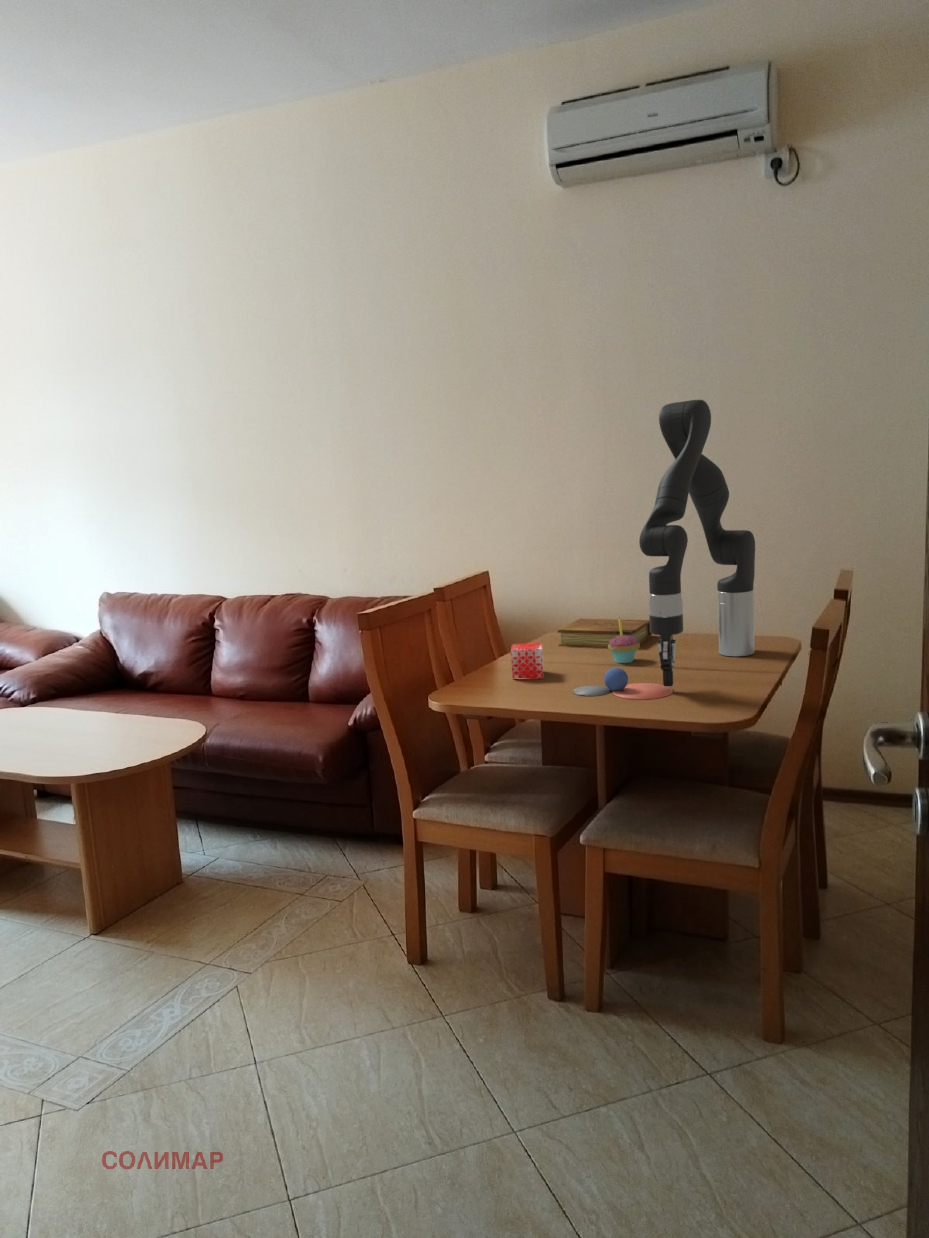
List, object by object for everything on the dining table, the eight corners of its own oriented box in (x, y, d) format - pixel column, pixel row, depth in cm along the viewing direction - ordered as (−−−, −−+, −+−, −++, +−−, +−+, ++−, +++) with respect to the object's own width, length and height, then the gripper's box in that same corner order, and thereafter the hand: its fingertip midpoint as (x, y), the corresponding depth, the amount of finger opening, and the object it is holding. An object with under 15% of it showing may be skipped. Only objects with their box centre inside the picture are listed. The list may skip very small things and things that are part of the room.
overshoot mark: (576, 686, 214) (576, 685, 214) (613, 686, 212) (613, 685, 212) (569, 695, 206) (569, 695, 206) (607, 696, 203) (607, 695, 203)
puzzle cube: (514, 673, 233) (512, 644, 232) (543, 671, 232) (542, 642, 231) (512, 680, 225) (510, 650, 224) (543, 679, 224) (541, 649, 223)
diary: (652, 638, 267) (651, 619, 266) (632, 651, 251) (631, 631, 250) (581, 635, 278) (581, 617, 277) (558, 647, 263) (557, 628, 262)
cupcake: (603, 660, 239) (601, 617, 237) (630, 656, 242) (629, 613, 240) (618, 666, 231) (616, 622, 229) (646, 662, 234) (644, 618, 232)
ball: (605, 670, 211) (624, 661, 208) (616, 690, 211) (635, 682, 208) (596, 676, 207) (615, 667, 203) (607, 697, 206) (626, 688, 203)
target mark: (616, 683, 214) (616, 682, 214) (675, 684, 210) (675, 683, 210) (608, 699, 201) (608, 698, 201) (670, 699, 197) (670, 699, 196)
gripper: (652, 607, 208) (654, 678, 210) (646, 618, 195) (649, 693, 198) (684, 607, 205) (686, 678, 208) (680, 617, 193) (683, 693, 196)
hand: (668, 685), depth 203 cm, fingers closed
